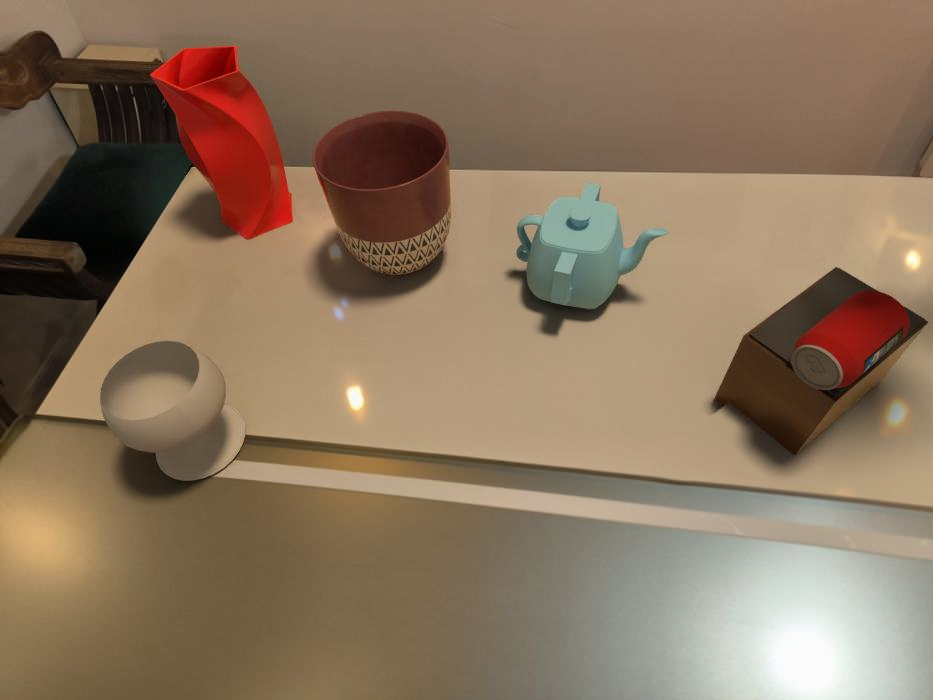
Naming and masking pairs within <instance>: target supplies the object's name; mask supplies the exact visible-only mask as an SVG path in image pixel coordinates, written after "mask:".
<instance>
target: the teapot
mask: <svg viewBox="0 0 933 700" xmlns="http://www.w3.org/2000/svg"><path fill="white" fill-rule="evenodd" d="M600 198H601V184H596V183H590V182H586V183H585V185H584V188H583V191H582V193H581V196H580V197H573V196H572V197H571V196H561V197H558V198H556V199H554V200H553V202H552V203H551V204H550V206H549V207H548V209H547V210H546V212H545V214H544V216H543V215H541V214H527V215H525V216H524V217H522V218H520V220H519V221H518V223H517V226H516V234H517V237H518V240H519V242H520V245H519V246H518V247H517V249H516V252H515V253H516V257H517V258H518V259H519V260H520V261H521V262H523V263H526V282H527V285H528V288H529V290H530V291H531V292H532V294H533V295H534V296H535V297H536V298H538V299H540V301H546V302H550V303H553V304H558V305H561V306H569V307H573V308H579V309H586V310H591V311H592V310H596V309H597V308H599V307H600V306H602V304H604V303H605V302H606V301H607V300H608V299H609V297H610V296H611V295H612V293H613V292H614V290H615V289H616V286H617V285H618V282H619V280H620V278H621V276H624V275H628V274H629V273H631V272H633V271H634V270H635V269H636V268H638V266H639V265H640V263H641V261H642V259H643V257H644V255H645V252H646V250H647V248H648V246H649V245H650V244H651V242H652V241H654V240H655V239H657V238H660V237H664V236H666V235H667V234H669V232H670V231H669V230H668V229H666V228H661V227H653V228H648V229H646V230H644V231H642V232H641V233H640V234H639V236H638V237H637V239H636V240H635V243H634V245H632V246H631V247H627V248H624V237H623V236H624V235H623V230H622V229H623V228H622V224H621V221H620V217H619V216H620V215H619V214H618V210H617V208H616V207H615V206H614V205H612V204H610V203H607V202H605V201H604V202H603V201H600ZM531 225H532V226H537V229H536V231H535V232H534V234H533V235H534V236H533V238H532V241H531V239H530V238H529V237H528V234H527V232H526V229H525V227H526V226H531Z"/></svg>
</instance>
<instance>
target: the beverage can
mask: <svg viewBox="0 0 933 700" xmlns="http://www.w3.org/2000/svg"><path fill="white" fill-rule="evenodd" d="M902 305H903V304H902V303H901V302H900V301H898V300H897V299H896V298H894V297H893V296H892V295H890V294H887V293H886V292H882V291H880V290H877V291H874V290H866V291H861V292H858V293H856V294H854V295H853V296H851V297H850V298H849V299H847V300H846V301H845V302H843V303H842V304H841V305H840V306H838V307H837V308H836V309H835V310H833V311H832V312H831V313H830V314H828V315H827V316H826V317H825V318H823V319H822V320H821V321H820V322H818V323H817V324H816V325H815V326H813V327H812V328H811V329H810V330H809V331H807V332H806V333H805V334H804V335H803V336H801V337H800V338H799V339H798V340H797V342H796V344H795V348H794V352H793V354H792V357H791V363H792V367H793V369H794V371H795V373H796V374H797V376H798V377H799V378H800V379H801V380H802V381H804V382H805V383H806V384H808V385H809V386H811V387H814V388H816V389H820V390H831V389H834V388H841V387H845V386H848V385H850V384H851V383H852V382H854V381H855V380H856V379H857V378H858V377H859V376H861V375H862V374H863V373H864V372H865V371H866V370H867V369H869V368H870V367H871V366H872V365H873V364H874V363H875V362H877V361H878V360H879V359H880V358H881V357H882V356H883V355H884V354H886V353H887V352H888V351H889V350H890V349H891V348H892V347H893V346H894V345H895V344H896V343H898V342H899V341H900V340H901V339H902V338H903V337H904V336H905V335H906V333H907V332H908V329H909V324H910V323H909V317H908V314H907V312H906V310H905V309H904V307H905V306H904V305H903V306H904V307H903V306H902Z"/></svg>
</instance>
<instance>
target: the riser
mask: <svg viewBox="0 0 933 700" xmlns="http://www.w3.org/2000/svg"><path fill="white" fill-rule="evenodd" d="M866 290H874V291H878V290H877V289H876V288H874V287H872V286H870V285H869V284H867V283H866V282H864V281H862V280H861V279H859V278H857V277H856V276H854V275H852V274H851V273H849V272H847V271H846V270H844V269H842V268H841V267H837V266H834V268H832V269H831V270H830V271H828V272H827V273H825V274H824V275H823V276H822V277H820V278H819V279H817V280H816V281H815V282H813V283H812V284H810V286H808V287H807V288H805V289H804V290H803V291H802V292H800V293H799V294H798V295H795V297H794V298H793V297H792V299H791V300H789V301H788V302H787V303H785V304H784V305H782V306H781V307H780V308H778V309H777V310H775V312H773V313H772V314H770V315H769V316H768V317H766V318H765V319H764V320H762V321H761V322H759V323H758V324H757V325H756V326H754V327H753V328H751V329H750V330H749V331H747V332H746V333H745V334H744V335H743V336H742V338H741V340H740V342H739V344H738V346H737V349H736V351H735V353H734V354H733V357H732V360H731V362H730V363H729V366H728V368H727V370H726V372H725V374H724V377H723V379H722V381H721V383H720V384H719V387H718V388H717V392H716V394H715V396H714V400H715V399H716V400H715V401H716V402H718V403H719V404H720V403H721V404H722V405H721V404H720V405H721V406H722V407H725V406H726V405H728V404H730V405H731V406H732V407H734V408H735V409H736V410H737V411H739V412H740V413H741V414H742V415H743V416H744V417H746V418H747V419H749V421H751V422H752V423H753V424H754V425H756V426H757V427H758V428H759V429H760V430H762V431H763V432H765V433H766V434H767V436H770V438H772V439H773V440H774V441H776V442H777V443H778V444H779V445H780V446H782V447H783V448H784V449H785V450H787V451H788V452H789V453H790V454H792V455H793V456H794V457H795V456H797V455H798V454H799V453H800V452H801V451H803V450H804V449H805V448H806V447H807V446H808V445H809V444H811V443H812V442H813V441H814V440H815V439H816V438H817V437H819V436H820V435H821V434H822V433H823V432H824V431H825V430H826V429H827V428H829V427H830V426H831V425H832V424H833V423H834V422H836V421H837V420H838V419H839V418H840V417H841V416H842V415H844V414H845V413H846V412H847V411H848V410H850V408H852V407H853V406H854V405H855V404H856V403H857V402H858V401H860V400H861V399H862V398H863V397H864V396H866V395H867V393H869V392H870V391H871V390H872V389H873V388H874V387H876V386H877V385H878V384H879V383H881V381H882V380H883V379H884V377H885V376H886V375H887V374H888V373H889V371H890V370H891V369H892V368H893V366H894V365H895V364H896V363H897V362H898V360H899V359H900V358H901V357H902V355H903V354H904V353H905V352H906V351H907V349H908V348H909V347H910V346H911V344H913V342H914V341H915V340H916V339H917V337H918V336H919V335H920V334H921V333H922V331H923V330H924V329H925V328H926V326H927V325H929V323H930V322H929V321H928V320H927V319H926V318H924V317H923V316H921V315H919V314H918V313H916V312H914V311H913V310H911V309H909V308H907V307H906V306H904V305H903V304H901V305H902V306H903V307H904V309H905V310H906V312H907V314H908V317H909V323H910V324H909V329H908V332H907V333H906V335H905V336H904V337H903V338H902V339H901V340H900V341H899V342H898V343H896V344H895V345H894V346H893V347H892V348H891V349H890V350H889V351H888V352H887V353H886V354H884V355H883V356H882V357H881V358H880V359H879V360H878V361H877V362H875V363H874V364H873V365H872V366H871V367H870V368H869V369H867V370H866V371H865V372H864V373H863V374H862V375H861V376H859V377H858V378H857V379H856V380H855V381H854V382H852V383H851V384H850V385H848V386H845V387H841V388H834V389H831V390H820V389H816V388H814V387H811V386H809V385H808V384H806V383H805V382H804V381H802V380H801V379H800V378H799V377H798V376H797V374H796V373H795V371H794V369H793V367H792V363H791V357H792V354H793V352H794V348H795V344H796V342H797V340H798V339H799V338H800V337H801V336H803V335H804V334H805V333H806V332H807V331H809V330H810V329H811V328H812V327H813V326H815V325H816V324H817V323H818V322H820V321H821V320H822V319H823V318H825V317H826V316H827V315H828V314H830V313H831V312H832V311H833V310H835V309H836V308H837V307H838V306H840V305H841V304H842V303H843V302H845V301H846V300H847V299H849V298H850V297H851V296H853V295H854V294H856V293H858V292H861V291H866Z"/></svg>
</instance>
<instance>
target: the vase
mask: <svg viewBox="0 0 933 700" xmlns="http://www.w3.org/2000/svg"><path fill="white" fill-rule="evenodd" d="M149 76H150V77H151V79H152V80H153V82H154V83H155V85H156V86H157V87H158V90H159V91H160V92H161V94H162V96H163V97H164V99H165V100H166V102H167V103H168V105H169V107H170V108H171V110H172V111H173V113H174V115H175V122H176V127H177V132H178V136H179V139H180V143H181V146H182V148H183V150H184V152H185V154H186V156H187V157H188V159H189V161H190V162H191V164H192V165H193V166H194V167H195V169H196V170H197V171H198V172H199V173H200V175H201V176H202V177H203V178H204V180H205V181H206V182H207V184H208V185H209V186H210V188H211V190H212V191H213V193H214V195H215V196H216V198H217V201H218V203H219V206H220V212H221V217H220V222H221V223H223V224H224V225H226V226H227V227H229V228H230V229H232V230H233V231H234V232H236V233H237V234H238V235H239V236H241V237H243V238H244V239H245V240H250V239H253V238H255V237H257V236H260V235H263V234H265V233H268V232H271V231H273V230H275V229H278V228H281V227H283V226H287V225H288V224H290V223H293V221H294V219H293V218H294V217H293V199H292V193H291V192H290V191H289V184H288V179H287V174H286V169H285V164H284V160H283V156H282V152H281V147H280V143H279V141H278V137H277V134H276V131H275V127H274V125H273V122H272V120H271V117H270V114H269V113H268V110H267V108H266V106H265V104H264V102H263V100H262V98H261V96H260V94H259V93H258V92H257V89H256V88H255V87H254V85H253V84H252V83H251V81H250V80H249V79H248V78H247V77H246V75H244V73H243V72H242V70H241V68H240V66H239V62H238V46H237V45H228V46H227V45H226V46H224V45H223V46H222V45H221V46H203V47H202V46H199V47H184V48H183V49H181V50H180V51H179V52H177V53H176V54H175V55H174V56H172V57H171V58H169V59H167V60H166V62H164V63H163V64H162V65H160V66H159V67H158V68H157V69H155V70H154V71H152V72H151V73H150V74H149Z"/></svg>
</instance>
